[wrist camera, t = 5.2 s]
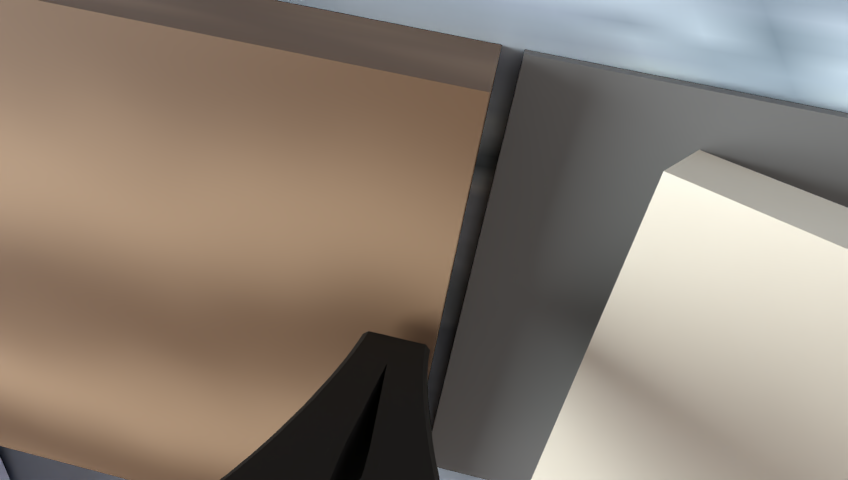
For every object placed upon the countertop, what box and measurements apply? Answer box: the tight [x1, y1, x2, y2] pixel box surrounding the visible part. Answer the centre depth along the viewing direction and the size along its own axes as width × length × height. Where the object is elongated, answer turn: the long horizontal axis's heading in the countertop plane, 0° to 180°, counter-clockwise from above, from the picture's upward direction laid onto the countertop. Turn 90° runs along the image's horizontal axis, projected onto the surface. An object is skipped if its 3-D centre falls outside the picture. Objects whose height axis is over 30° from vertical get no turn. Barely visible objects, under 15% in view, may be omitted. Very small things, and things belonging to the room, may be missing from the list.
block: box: [531, 150, 848, 480], centre depth 12 cm, size 10×7×2 cm
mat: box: [432, 50, 848, 480], centre depth 15 cm, size 14×14×1 cm
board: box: [0, 0, 502, 480], centre depth 15 cm, size 14×13×4 cm
